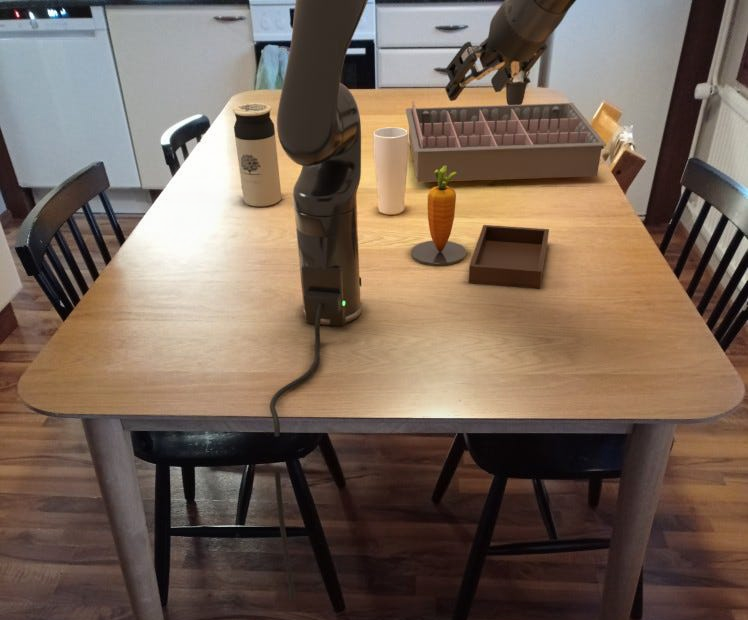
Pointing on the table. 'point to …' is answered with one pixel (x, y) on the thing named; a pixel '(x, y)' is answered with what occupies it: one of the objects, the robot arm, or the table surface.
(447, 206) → the carrot
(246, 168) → the travel mug
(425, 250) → the metal coaster
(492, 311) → the table surface
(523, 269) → the tray
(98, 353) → the table surface
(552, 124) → the organizer tray
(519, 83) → the sundae
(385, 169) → the drinking glass
